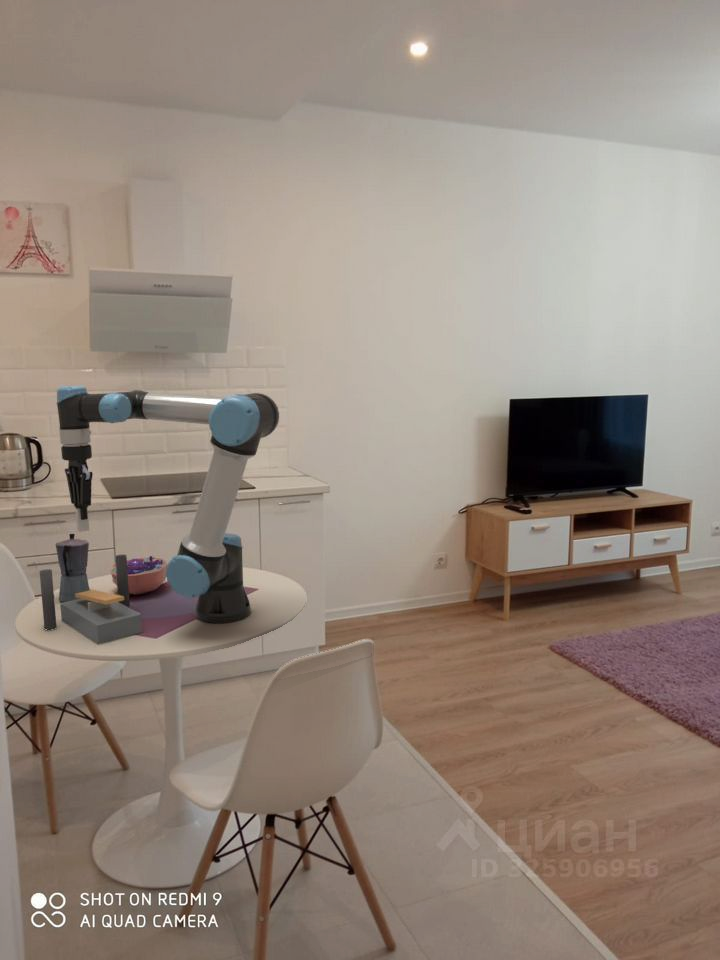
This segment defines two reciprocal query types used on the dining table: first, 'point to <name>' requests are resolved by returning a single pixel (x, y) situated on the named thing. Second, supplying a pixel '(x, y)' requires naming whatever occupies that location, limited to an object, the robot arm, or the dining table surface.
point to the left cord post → (48, 599)
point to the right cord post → (122, 579)
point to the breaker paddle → (99, 597)
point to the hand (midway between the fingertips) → (83, 530)
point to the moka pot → (72, 567)
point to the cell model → (143, 574)
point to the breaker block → (101, 619)
